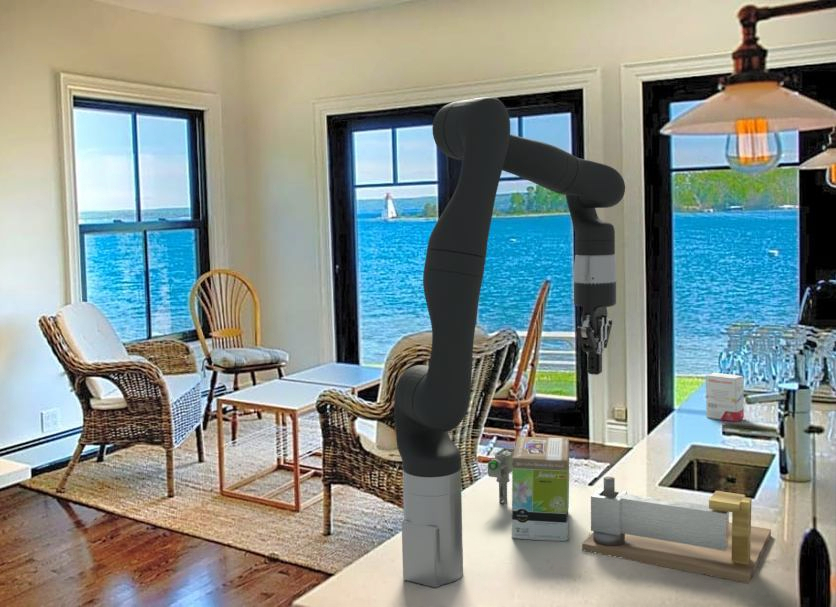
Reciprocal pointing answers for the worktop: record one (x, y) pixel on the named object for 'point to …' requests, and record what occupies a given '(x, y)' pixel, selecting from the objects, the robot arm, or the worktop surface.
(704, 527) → the link
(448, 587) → the worktop surface
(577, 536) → the worktop surface
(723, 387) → the ink box
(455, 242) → the robot arm
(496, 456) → the mechanical component
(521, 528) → the tea box
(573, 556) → the worktop surface
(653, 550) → the latch board
